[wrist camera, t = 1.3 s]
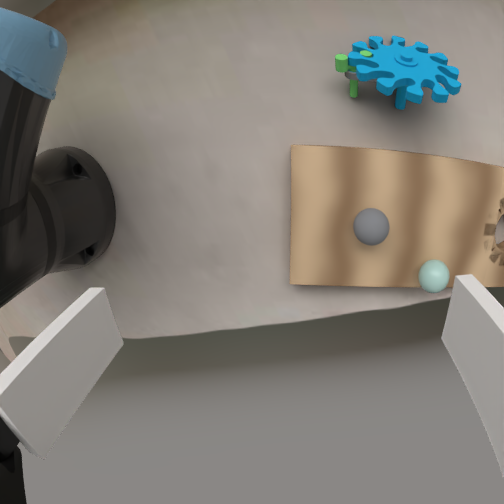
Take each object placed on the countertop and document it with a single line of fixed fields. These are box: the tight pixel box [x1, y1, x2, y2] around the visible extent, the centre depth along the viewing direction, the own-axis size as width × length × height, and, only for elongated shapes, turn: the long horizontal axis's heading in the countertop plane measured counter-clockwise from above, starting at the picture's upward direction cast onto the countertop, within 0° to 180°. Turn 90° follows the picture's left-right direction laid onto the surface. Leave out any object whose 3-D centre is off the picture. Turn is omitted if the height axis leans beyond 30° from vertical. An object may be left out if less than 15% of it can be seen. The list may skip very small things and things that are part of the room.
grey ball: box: [353, 208, 390, 246], centre depth 25 cm, size 3×3×3 cm
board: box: [290, 145, 504, 287], centre depth 26 cm, size 32×13×2 cm, turn 91°
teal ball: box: [418, 259, 449, 293], centre depth 26 cm, size 3×3×3 cm
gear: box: [335, 36, 461, 110], centre depth 22 cm, size 11×6×10 cm
